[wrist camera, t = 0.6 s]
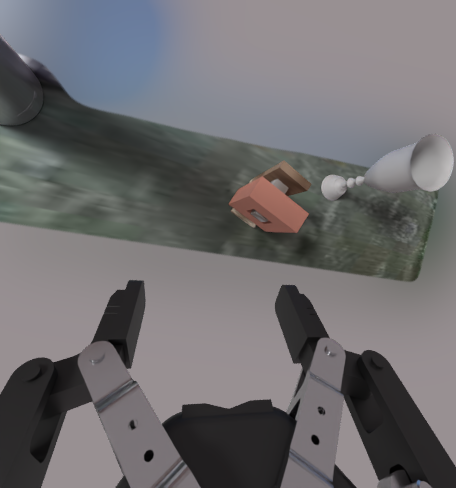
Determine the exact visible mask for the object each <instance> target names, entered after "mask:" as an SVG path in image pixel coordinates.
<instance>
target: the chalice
mask: <svg viewBox="0 0 456 488" xmlns="http://www.w3.org/2000/svg"><path fill="white" fill-rule="evenodd" d="M452 169H453V152H452V148H451V146H450V145H449V143H448V141H447V140H446V139H445V138H443V137H442V136H440V135H437V134H430V135H427V136H425V137H423V138H422V139H420V140H419V141H418V142H417V143H415V144H412V145H410V146H407V147H404V148H401V149H398V150H395V151H392V152H390V153H388V154H387V155H385V156H384V157H382V158H381V159H380V160H379V161H377V162H376V163H375V164H374V165H373V166H372V167H371V168H370V169H369V170H368V171H367V172H366V174H365V177H361V176H358V177H357V178H356V179H353V178H349V179H348V181H347V182H346V180H345V179H344V178H343V177H341V176H337V175H329V176H327V177H326V178H325V179H324V180H323V182H322V186H321V188H322V193H323V195H324V196H325V198H327V199H328V200H336V199H338V198H339V197H340V196H342V195H343V194H344V193H345V191H346V189H347V187H349V188H353V187H354V186H355V184H356V185H359V186H360V185H362V184H363V183H366V184H367V185H368V186H370V187H372V188H375V189H378V190H381V191H386V192H391V193H397V192H403V191H410V190H416V189H422V190H426V191H435V190H438V189H439V188H441V187H443V185H444V184H445V183H446V182H447V181H448V179H449V177H450V175H451V173H452Z"/></svg>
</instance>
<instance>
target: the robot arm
mask: <svg viewBox="0 0 456 488" xmlns="http://www.w3.org/2000/svg"><path fill="white" fill-rule="evenodd" d="M42 103H43V91H42V87H41V84H40V82H39V80H38V78H37V77H36V76H35V74H34V73H33V72H32V70H31V69H30V68H29V67H28V66H27V65H26V64H25V62H24V61H23V60H22V59H21V58H20V57H19V55H18V54H17V53H16V52H15V51H14V50H13V48H12V47H11V46H10V45H9V44H8V42H7V41H6V40H5V39H4V38H3V37H2V35H1V34H0V124H1V125H9V126H13V125H20V124H23V123H26V122H28V121H30V120H31V119H33V118H34V117H35V116H36V115H37V114H38V113H39V111H40V109H41V107H42ZM144 310H145V289H144V281H137V280H129V282H128V284H127V287H126V289H125V290H117V291H116V292H115V293H114V294H113V295H112V296H111V297H110V300H109V302H108V304H107V307H106V309H105V312H104V315H103V317H102V319H101V321H100V324H99V326H98V329H97V331H96V334H95V336H94V339H93V341H92V342H91V344H90V345H88V346H87V347H86V348H85V349H84V350H83V351H82V352H81V353H80V354H78V355H75V356H73V357H70V358H67V359H63V360H60V361H57V362H52V361H51V360H50V359H48V358H36V359H32V360H30V361H28V362H26V363H24V364H23V365H21V366H20V367H19V368H17V369H16V370H15V371H14V373H13V374H12V375H11V377H10V379H9V380H8V382H7V384H6V386H5V387H4V389H3V391H2V392H1V394H0V488H41V486H42V483H43V480H44V477H45V474H46V471H47V468H48V465H49V462H50V459H51V457H52V454H53V451H54V448H55V445H56V442H57V439H58V436H59V433H60V430H61V427H62V424H63V422H64V419H65V416H66V413H67V411H68V410H70V409H73V408H76V407H78V406H81V405H84V404H86V403H89V402H93V404H94V406H95V409H96V411H97V413H98V416H99V418H100V420H101V423H102V425H103V428H104V430H105V432H106V435H107V437H108V440H109V442H110V444H111V447H112V449H113V452H114V454H115V456H116V459H117V461H118V464H119V466H120V468H121V471H122V473H123V475H124V476H123V478H122V479H121V480H120V482H119V483H118V485H117V486H116V488H356V487H355V485H354V484H353V483H352V482H351V481H350V480H349V479H348V478H347V477H346V476H345V475H344V473H343V472H342V471H341V470H340V469H339V468H338V467H337V466H336V465H335V457H336V450H337V443H338V436H339V429H340V421H341V415H342V407H343V401H344V399H345V401H346V403H347V406H348V408H349V411H350V413H351V416H352V418H353V420H354V423H355V425H356V427H357V429H358V432H359V435H360V437H361V439H362V442H363V444H364V446H365V449H366V451H367V454H368V456H369V458H370V460H371V463H372V465H373V468H374V470H375V473H376V475H377V477H378V479H379V482H378V485H377V488H456V467H455V465H454V464H453V462H452V460H451V459H450V457H449V456H448V454H447V453H446V451H445V449H444V448H443V446H442V445H441V443H440V442H439V440H438V438H437V437H436V436H435V434H434V432H433V431H432V429H431V428H430V426H429V424H428V423H427V421H426V420H425V418H424V417H423V415H422V413H421V412H420V410H419V409H418V407H417V406H416V404H415V403H414V401H413V400H412V398H411V396H410V395H409V393H408V392H407V390H406V388H405V387H404V385H403V384H402V382H401V381H400V379H399V378H398V376H397V374H396V373H395V371H394V370H393V368H392V367H391V365H390V363H389V362H388V361H387V360H386V359H385V358H384V357H383V356H382V355H381V354H379V353H377V352H375V351H372V350H366V351H364V352H363V353H362V355H359V354H355V353H352V352H348V351H346V350H344V349H343V348H342V347H341V345H340V344H339V343H337V342H336V341H335V340H333V339H330V338H329V336H328V334H327V332H326V330H325V328H324V326H323V324H322V322H321V321H320V319H319V317H318V315H317V313H316V311H315V309H314V307H313V305H312V304H311V302H310V300H309V299H308V298H307V297H306V296H305V295H304V294H300V293H299V291H298V289H297V287H296V286H295V285H282V286H281V288H280V291H279V294H278V296H277V299H276V302H275V311H276V314H277V317H278V320H279V323H280V326H281V329H282V331H283V335H284V337H285V340H286V343H287V346H288V349H289V352H290V355H291V357H292V360H293V363H301V365H302V370H301V373H300V375H299V378H298V382H297V385H296V388H295V391H294V394H293V397H292V400H291V403H290V405H289V407H288V409H287V411H286V412H284V411H282V410H280V409H278V408H276V407H273V406H272V402H271V400H254V401H248V402H246V403H243V404H241V405H238V406H235V407H233V408H230V409H227V408H222V407H218V406H214V405H210V404H188V405H183V406H182V412H180V413H177V414H175V415H173V416H172V417H170V418H169V419H167V420H166V421H165V422H164V423H162V424H161V422H160V421H159V419H158V417H157V415H156V414H155V412H154V410H153V408H152V407H151V405H150V403H149V402H148V400H147V398H146V396H145V395H144V393H143V391H142V389H141V388H140V386H139V385H138V383H137V382H136V381H134V380H133V379H132V378H131V376H130V374H129V372H128V371H127V369H128V368H131V366H132V362H133V357H134V353H135V348H136V344H137V340H138V336H139V332H140V328H141V323H142V319H143V315H144Z"/></svg>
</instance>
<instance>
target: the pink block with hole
mask: <svg viewBox="0 0 456 488" xmlns="http://www.w3.org/2000/svg"><path fill="white" fill-rule="evenodd" d="M229 205H230V206H231V207H233V208H234V209H235V210H237V211H238V212H239V213H241V214H242V215H244V216H245V217H246V218H248V219H249V220H250V221H252V222H253V223H254V224H256V225H257V226H258V227H260V228H261V229H263V230H264V231H265V232H288V233H297V232H298V231H299V229H300V227H301V226H302V224H303V223H304V221H305V219H306V218H307V216H308V214H309V213H307V212H306V211H305V210H304V209H302V208H301V207H300V206H299V205H297V204H296V203H295V202H294V201H292V200H291V199H290V198H289V197H288V196H286V195H285V194H284V193H283V192H281V191H280V190H279V189H278V188H276V187H275V186H274V185H273V184H271V183H270V182H269V181H268V180H267V179H265V178H264V177H263V176H262V177H260V178H258V179H256V180H254V181H252V182H251V183H249V184H247V185H245V186H243V187H242V188H240V189H238V190H237V192H236V193H235V195H234V197H233V198H232V200H231V201H230V203H229ZM253 209H254V210H256V211H257V212H258V213H260V214H261V215H262V216H264V217H265V218H266V219H268V221H267V222H261V221H259V220H258V219H257V218H255V217H254V216H253V215H251V214H250V213H251V211H252V210H253Z"/></svg>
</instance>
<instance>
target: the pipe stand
mask: <svg viewBox="0 0 456 488" xmlns="http://www.w3.org/2000/svg"><path fill="white" fill-rule="evenodd" d="M262 176H263V177H264V178H265V179H267V180H268V181H269V182H270V183H271V184H273V185H274V186H275V187H276V188H278V189H279V190H280V191H281V192H283V193H284V194H285V195H286V196H289V195H293V194H297V193H301V192H304V191H307V190H308V189H309V187H310V186H311V183H310V182H308V181H307V180H306V179H305V178H304V177H303V176H301V175H300V174H299V173H298V172H297V171H296V170H294V169H293V168H292V167H291V166H290V165H289V164H287V163H286V162H285V161H282V162H281V163H279V164H277V165H276V166H274V167H272V168H270V169H269V170H267V171H265V172H264V173H262V174H260V175H258V176H257V177H255V178H253V179H252V180H251V181H250V183H251V182H252V181H254V180H256V179H258V178H260V177H262ZM231 212H232V213H233V214H235V215H236V216H237V217H239V218H240V219H242V220H243V221H244V222H246V223H247V224H248V225H250V226H251V227H255V226H256V224H254V223H253V222H252V221H250V220H249V219H248V218H246V217H245V216H244V215H242V214H241V213H239V212H238V211H237V210H235V209H234V208H232V210H231ZM250 214H251V215H253V216H254V217H255V218H257V219H258V220H259V221H261V222H267V221H268V219H266V218H265V217H264V216H262V215H261V214H260V213H258V212H257V211H256V210H254V209H253V210H252V211H251V213H250Z"/></svg>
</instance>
